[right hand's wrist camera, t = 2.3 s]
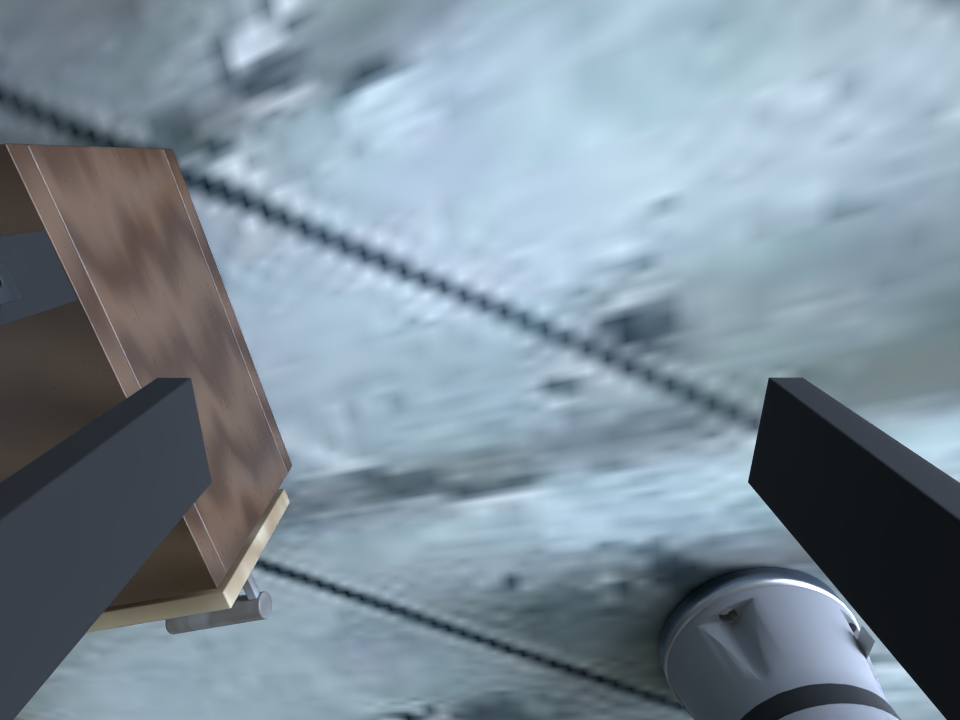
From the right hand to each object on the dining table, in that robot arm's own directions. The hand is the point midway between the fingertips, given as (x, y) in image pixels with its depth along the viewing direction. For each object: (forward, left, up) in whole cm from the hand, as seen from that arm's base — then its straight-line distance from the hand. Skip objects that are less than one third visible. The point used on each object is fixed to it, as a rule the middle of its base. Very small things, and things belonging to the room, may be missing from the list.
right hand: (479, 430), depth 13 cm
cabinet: (-8, +20, -23) cm, 31 cm away
